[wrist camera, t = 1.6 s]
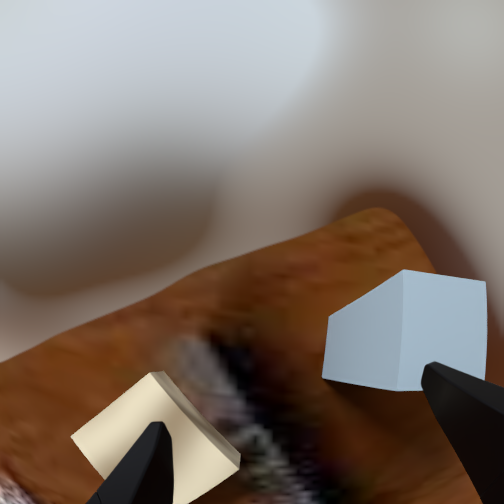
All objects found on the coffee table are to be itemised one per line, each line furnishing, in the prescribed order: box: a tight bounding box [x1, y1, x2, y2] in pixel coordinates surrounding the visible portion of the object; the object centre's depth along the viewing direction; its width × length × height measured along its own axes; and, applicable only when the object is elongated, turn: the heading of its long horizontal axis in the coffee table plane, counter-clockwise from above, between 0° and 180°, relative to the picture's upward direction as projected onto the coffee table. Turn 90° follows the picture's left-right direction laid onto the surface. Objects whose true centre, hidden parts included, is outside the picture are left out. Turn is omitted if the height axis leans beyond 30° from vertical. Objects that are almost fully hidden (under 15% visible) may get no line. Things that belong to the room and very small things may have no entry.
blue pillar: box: [322, 270, 487, 391], centre depth 17 cm, size 5×5×13 cm
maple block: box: [71, 371, 241, 504], centre depth 19 cm, size 9×9×4 cm
